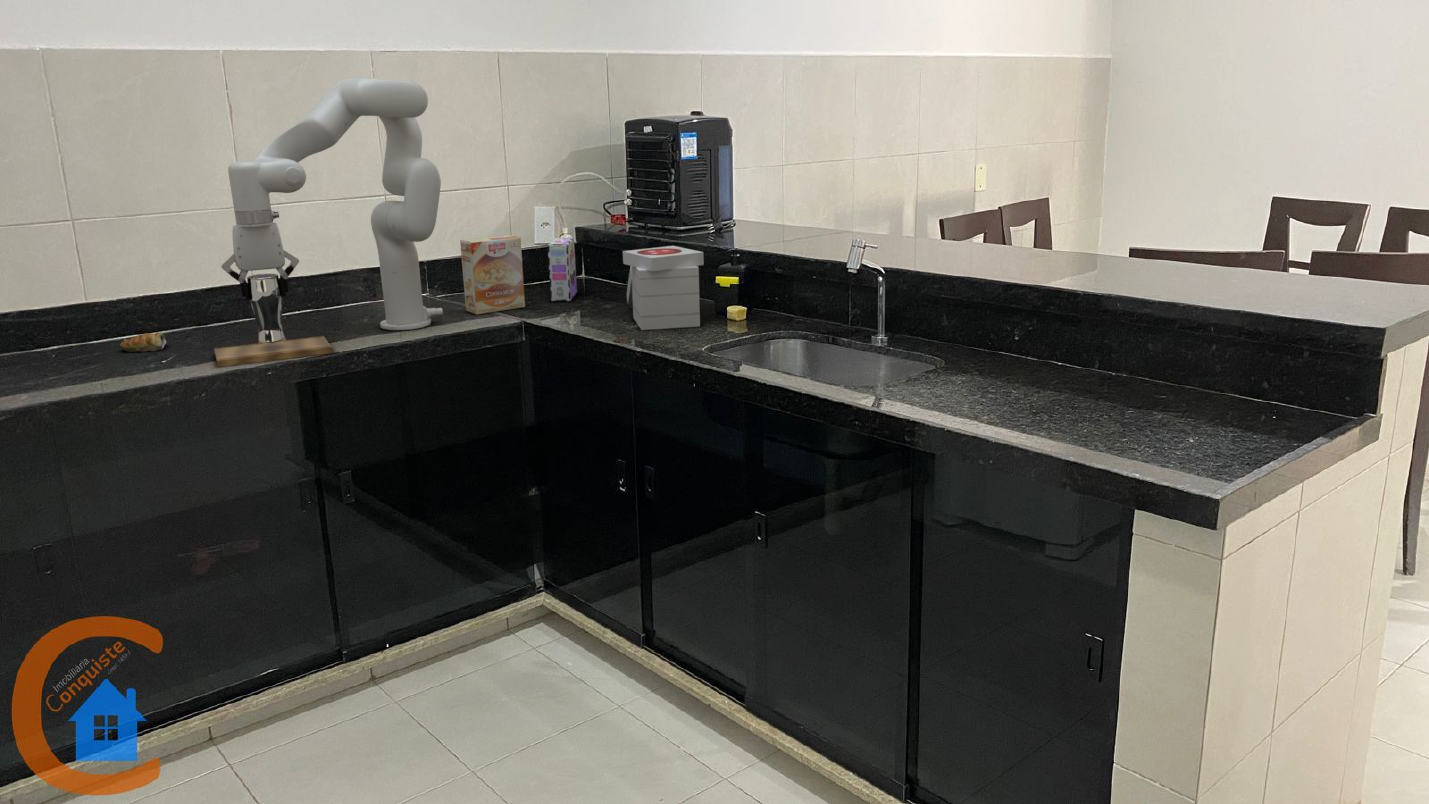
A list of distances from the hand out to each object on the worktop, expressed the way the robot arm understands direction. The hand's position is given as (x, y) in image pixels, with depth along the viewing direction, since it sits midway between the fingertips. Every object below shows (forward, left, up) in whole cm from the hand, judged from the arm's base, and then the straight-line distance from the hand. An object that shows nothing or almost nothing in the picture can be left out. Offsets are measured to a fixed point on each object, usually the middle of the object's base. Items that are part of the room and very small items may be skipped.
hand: (265, 296), depth 231 cm
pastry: (+26, -22, -14) cm, 37 cm away
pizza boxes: (-93, +12, -14) cm, 95 cm away
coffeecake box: (-59, -23, -14) cm, 65 cm away
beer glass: (0, 0, -10) cm, 10 cm away
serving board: (0, 0, -13) cm, 13 cm away
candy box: (-81, -29, -14) cm, 87 cm away
